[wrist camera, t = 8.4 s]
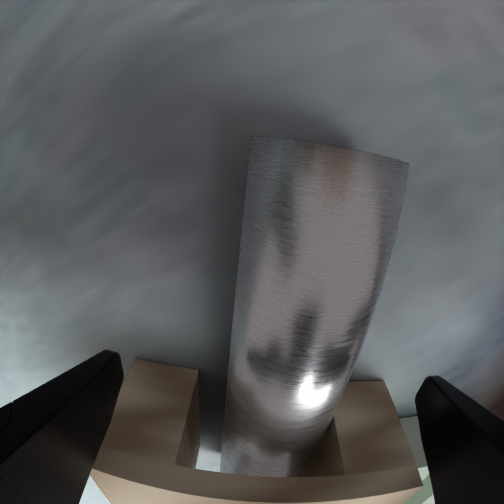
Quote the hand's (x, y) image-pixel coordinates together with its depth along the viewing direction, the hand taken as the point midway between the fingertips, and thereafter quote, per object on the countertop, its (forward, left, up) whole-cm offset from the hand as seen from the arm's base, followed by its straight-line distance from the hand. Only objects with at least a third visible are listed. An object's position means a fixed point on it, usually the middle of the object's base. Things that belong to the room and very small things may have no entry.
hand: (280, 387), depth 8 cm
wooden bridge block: (0, +6, -4) cm, 7 cm away
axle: (0, +2, -4) cm, 4 cm away
